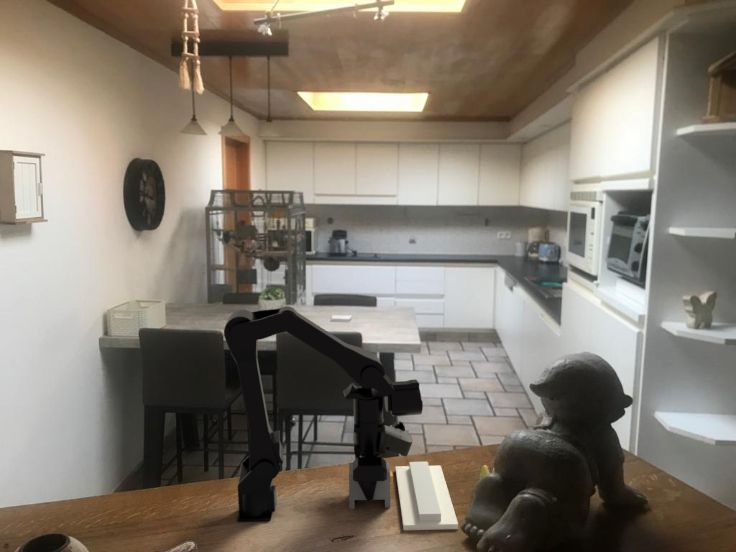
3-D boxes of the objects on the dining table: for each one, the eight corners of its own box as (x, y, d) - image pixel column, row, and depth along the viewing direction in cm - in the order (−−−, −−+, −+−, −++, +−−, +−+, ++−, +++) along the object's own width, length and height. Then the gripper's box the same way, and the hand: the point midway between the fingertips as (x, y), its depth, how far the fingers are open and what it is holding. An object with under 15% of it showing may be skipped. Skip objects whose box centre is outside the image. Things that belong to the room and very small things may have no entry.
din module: (349, 508, 110) (348, 475, 109) (349, 494, 115) (349, 462, 114) (393, 507, 110) (393, 474, 109) (391, 493, 115) (391, 461, 114)
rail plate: (403, 530, 103) (403, 517, 102) (395, 470, 125) (395, 460, 124) (458, 529, 103) (458, 516, 103) (440, 469, 125) (440, 459, 124)
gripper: (414, 437, 101) (414, 517, 103) (405, 399, 119) (405, 467, 122) (352, 438, 101) (353, 519, 103) (353, 400, 119) (354, 468, 121)
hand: (369, 491), depth 112 cm, fingers open, 6 cm apart
